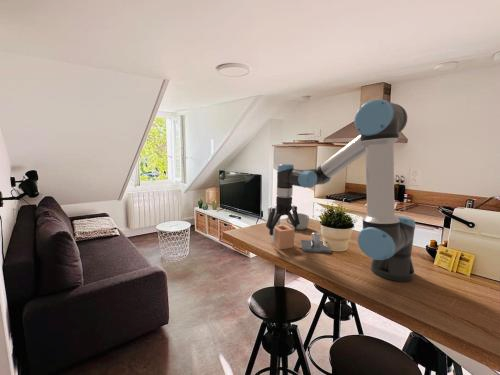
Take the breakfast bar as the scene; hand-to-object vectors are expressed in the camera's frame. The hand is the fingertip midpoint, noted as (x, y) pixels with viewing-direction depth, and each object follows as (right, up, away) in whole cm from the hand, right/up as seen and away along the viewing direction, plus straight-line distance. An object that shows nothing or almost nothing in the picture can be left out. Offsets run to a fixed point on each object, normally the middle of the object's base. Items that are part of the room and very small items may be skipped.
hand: (282, 239), depth 127 cm
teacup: (+12, +1, +28) cm, 31 cm away
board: (+16, -3, -1) cm, 16 cm away
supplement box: (-2, +2, +30) cm, 30 cm away
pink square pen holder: (0, -3, 0) cm, 3 cm away
